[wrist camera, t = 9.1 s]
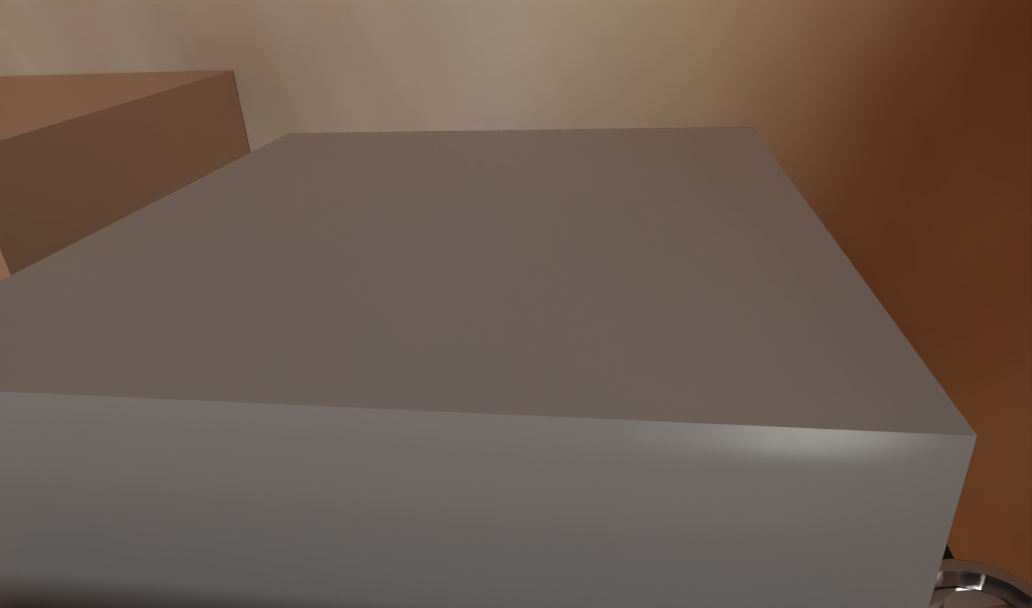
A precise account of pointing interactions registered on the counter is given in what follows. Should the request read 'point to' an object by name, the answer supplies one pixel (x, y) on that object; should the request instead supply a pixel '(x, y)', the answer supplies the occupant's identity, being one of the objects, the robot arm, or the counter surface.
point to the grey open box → (470, 388)
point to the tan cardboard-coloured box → (104, 151)
